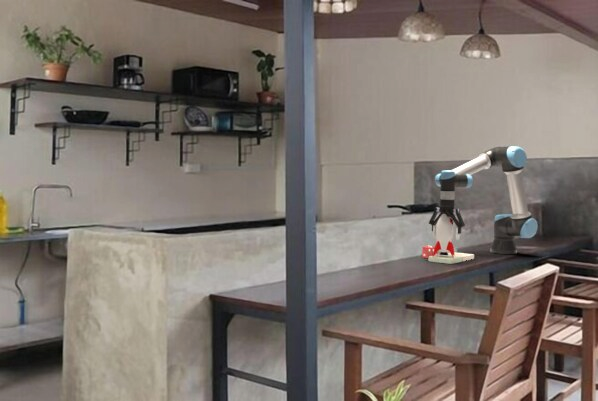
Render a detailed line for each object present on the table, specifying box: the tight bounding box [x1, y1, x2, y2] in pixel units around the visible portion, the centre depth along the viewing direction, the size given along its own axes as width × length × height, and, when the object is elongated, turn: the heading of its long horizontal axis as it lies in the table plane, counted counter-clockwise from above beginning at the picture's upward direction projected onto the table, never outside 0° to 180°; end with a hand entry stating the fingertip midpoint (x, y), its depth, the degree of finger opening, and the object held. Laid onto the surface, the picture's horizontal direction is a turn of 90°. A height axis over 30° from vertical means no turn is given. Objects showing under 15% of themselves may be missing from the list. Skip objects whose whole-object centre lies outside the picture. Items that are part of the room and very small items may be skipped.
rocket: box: [433, 213, 455, 258], centre depth 343 cm, size 11×11×25 cm
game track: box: [428, 252, 475, 265], centre depth 348 cm, size 27×13×2 cm, turn 138°
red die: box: [421, 245, 437, 259], centre depth 356 cm, size 7×7×7 cm
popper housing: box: [437, 247, 458, 255], centre depth 367 cm, size 12×12×4 cm
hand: (446, 238), depth 343 cm, fingers open, 13 cm apart
